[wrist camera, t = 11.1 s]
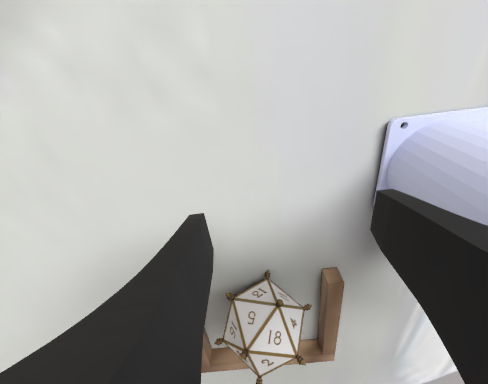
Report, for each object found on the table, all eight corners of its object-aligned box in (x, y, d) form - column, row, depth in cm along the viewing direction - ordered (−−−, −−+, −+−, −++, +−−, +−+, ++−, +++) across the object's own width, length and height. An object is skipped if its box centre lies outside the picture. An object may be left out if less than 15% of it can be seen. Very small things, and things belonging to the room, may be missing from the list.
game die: (270, 255, 29) (348, 304, 22) (254, 318, 30) (323, 387, 23) (206, 263, 24) (281, 334, 16) (189, 341, 25) (252, 442, 17)
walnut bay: (336, 267, 25) (344, 283, 24) (328, 344, 32) (333, 360, 31) (175, 284, 26) (171, 301, 24) (202, 356, 33) (201, 372, 31)
